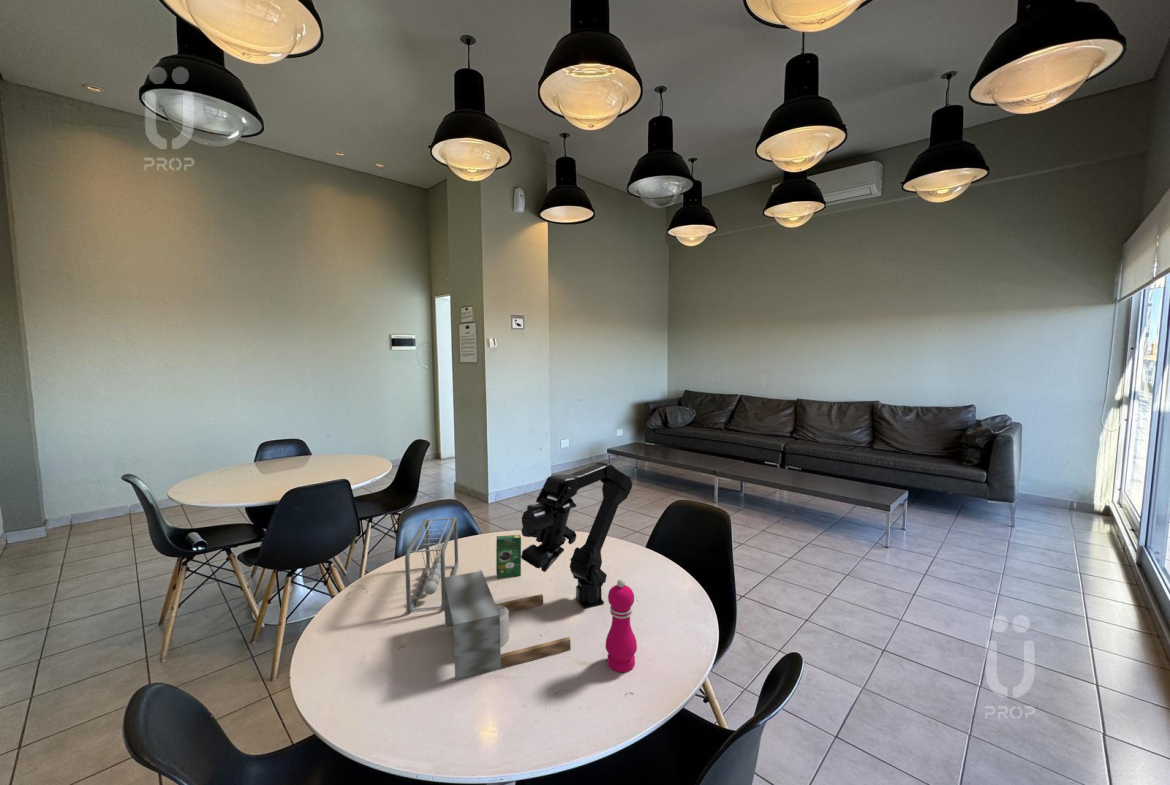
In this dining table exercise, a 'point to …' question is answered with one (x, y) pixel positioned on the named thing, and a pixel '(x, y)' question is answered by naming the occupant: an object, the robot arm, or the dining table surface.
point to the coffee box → (508, 556)
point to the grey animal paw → (503, 624)
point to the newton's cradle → (438, 563)
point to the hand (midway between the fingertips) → (543, 570)
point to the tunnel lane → (485, 627)
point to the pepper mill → (621, 629)
